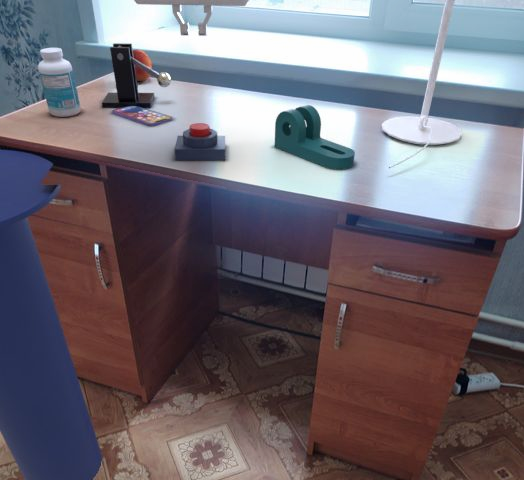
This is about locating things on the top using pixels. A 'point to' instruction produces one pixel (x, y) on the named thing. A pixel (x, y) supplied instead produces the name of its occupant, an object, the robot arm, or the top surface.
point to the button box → (200, 147)
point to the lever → (153, 73)
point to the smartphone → (142, 115)
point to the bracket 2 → (309, 139)
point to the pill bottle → (58, 83)
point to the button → (199, 130)
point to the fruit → (145, 60)
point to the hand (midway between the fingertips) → (194, 35)
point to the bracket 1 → (125, 81)
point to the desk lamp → (426, 106)
